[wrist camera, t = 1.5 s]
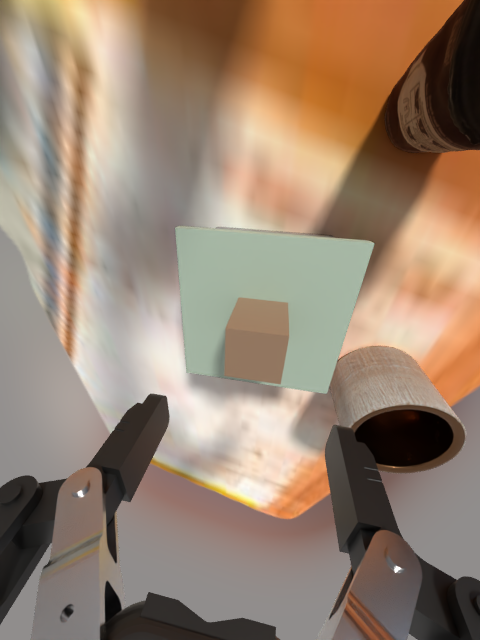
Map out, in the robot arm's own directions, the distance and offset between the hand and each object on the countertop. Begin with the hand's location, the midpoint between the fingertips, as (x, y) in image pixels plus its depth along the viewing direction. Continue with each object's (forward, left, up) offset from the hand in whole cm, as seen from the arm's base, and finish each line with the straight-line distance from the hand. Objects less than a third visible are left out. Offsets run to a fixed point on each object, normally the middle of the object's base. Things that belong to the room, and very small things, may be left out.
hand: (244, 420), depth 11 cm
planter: (+11, +15, -19) cm, 27 cm away
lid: (0, 0, -11) cm, 11 cm away
